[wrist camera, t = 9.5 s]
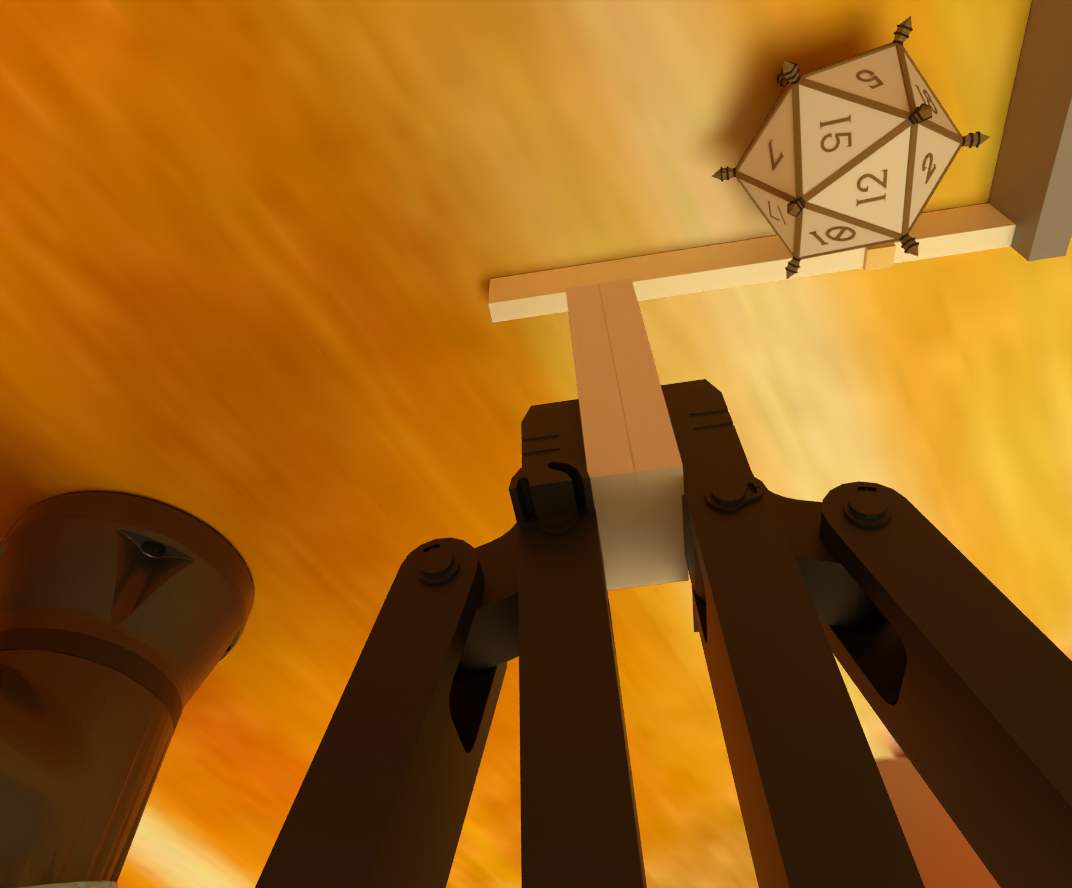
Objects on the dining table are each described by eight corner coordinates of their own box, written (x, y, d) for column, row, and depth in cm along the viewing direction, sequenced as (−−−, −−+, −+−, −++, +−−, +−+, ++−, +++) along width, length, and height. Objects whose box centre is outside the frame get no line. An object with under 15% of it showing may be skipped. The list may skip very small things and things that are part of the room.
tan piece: (494, 297, 37) (491, 339, 34) (409, -95, 28) (394, -87, 24) (1022, 217, 35) (1071, 254, 32) (1137, -240, 25) (1224, -251, 22)
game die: (713, 107, 35) (956, 66, 32) (721, 294, 35) (962, 271, 32) (697, 17, 26) (1028, -49, 23) (709, 265, 27) (1034, 230, 24)
